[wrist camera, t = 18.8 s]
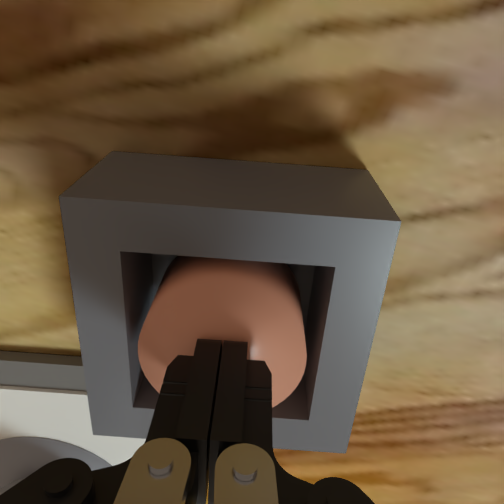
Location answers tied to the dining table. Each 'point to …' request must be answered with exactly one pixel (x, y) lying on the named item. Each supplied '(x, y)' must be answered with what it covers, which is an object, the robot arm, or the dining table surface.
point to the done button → (227, 317)
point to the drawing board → (50, 417)
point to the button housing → (237, 248)
